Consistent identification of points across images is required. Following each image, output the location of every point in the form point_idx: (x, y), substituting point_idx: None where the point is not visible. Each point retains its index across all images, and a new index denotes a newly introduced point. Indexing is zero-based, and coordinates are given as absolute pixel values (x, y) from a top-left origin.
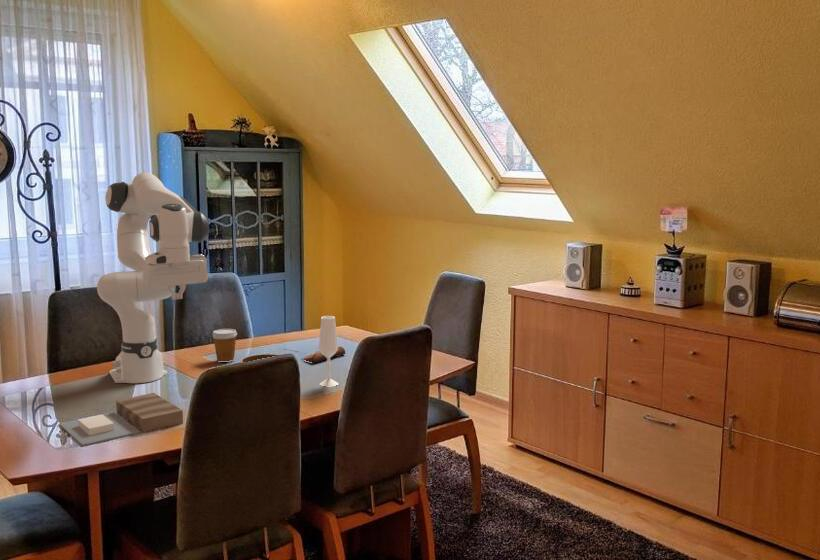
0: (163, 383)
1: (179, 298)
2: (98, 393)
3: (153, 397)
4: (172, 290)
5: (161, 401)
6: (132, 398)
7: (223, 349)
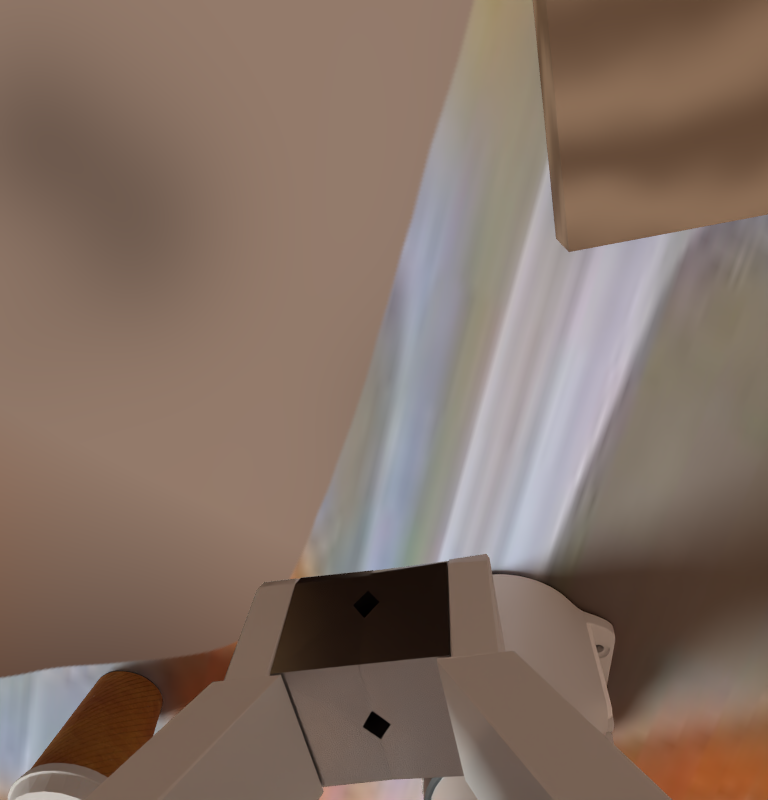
0: (430, 536)
1: (341, 574)
2: (722, 530)
3: (598, 159)
4: (571, 768)
5: (583, 46)
6: (707, 199)
7: (111, 724)
